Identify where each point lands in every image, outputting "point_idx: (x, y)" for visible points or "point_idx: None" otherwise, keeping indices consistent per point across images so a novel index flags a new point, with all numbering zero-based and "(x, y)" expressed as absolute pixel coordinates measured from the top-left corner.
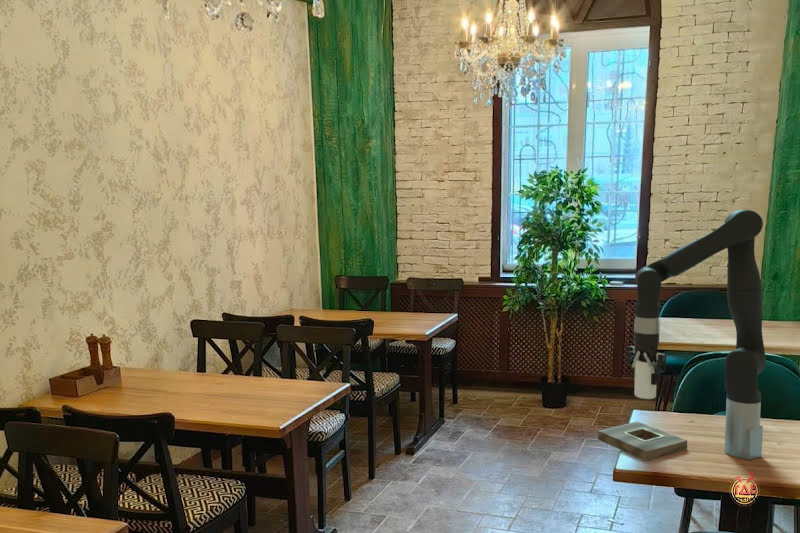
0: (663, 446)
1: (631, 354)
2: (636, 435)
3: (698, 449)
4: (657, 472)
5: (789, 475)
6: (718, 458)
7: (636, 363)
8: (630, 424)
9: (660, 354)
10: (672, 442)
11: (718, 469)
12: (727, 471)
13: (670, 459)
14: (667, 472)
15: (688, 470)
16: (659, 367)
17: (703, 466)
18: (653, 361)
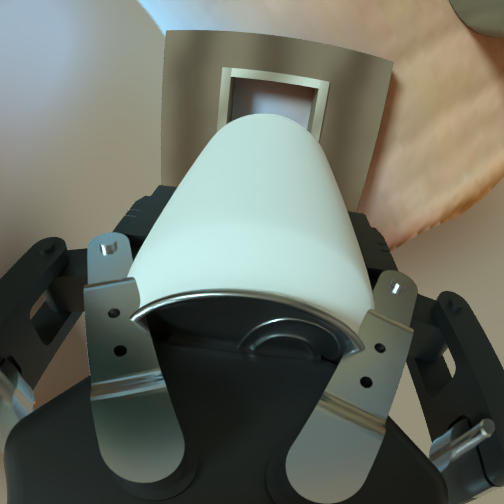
0: (367, 164)
1: (30, 370)
2: (230, 103)
3: (402, 34)
4: (390, 250)
5: None
6: (462, 66)
7: None
8: (173, 74)
9: (471, 500)
10: (370, 112)
11: (481, 138)
12: (496, 136)
13: (384, 161)
14: (406, 235)
15: (437, 192)
16: (441, 386)
17: (455, 145)
18: (332, 341)
